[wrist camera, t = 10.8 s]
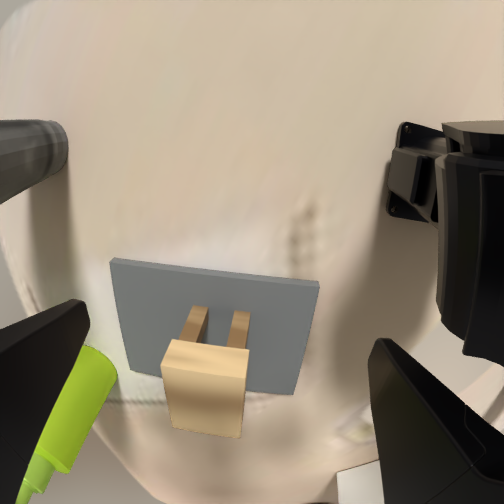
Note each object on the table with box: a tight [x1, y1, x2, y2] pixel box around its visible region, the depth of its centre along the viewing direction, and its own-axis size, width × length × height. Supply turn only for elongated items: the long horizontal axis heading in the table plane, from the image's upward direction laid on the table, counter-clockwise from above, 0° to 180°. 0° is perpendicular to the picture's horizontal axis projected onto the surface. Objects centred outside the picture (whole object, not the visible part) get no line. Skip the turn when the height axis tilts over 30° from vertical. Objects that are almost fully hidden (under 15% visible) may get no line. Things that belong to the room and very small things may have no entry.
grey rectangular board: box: [109, 258, 320, 395], centre depth 25 cm, size 16×12×1 cm
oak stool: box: [160, 305, 251, 438], centre depth 21 cm, size 7×5×7 cm
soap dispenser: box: [15, 345, 117, 504], centre depth 20 cm, size 6×7×20 cm
